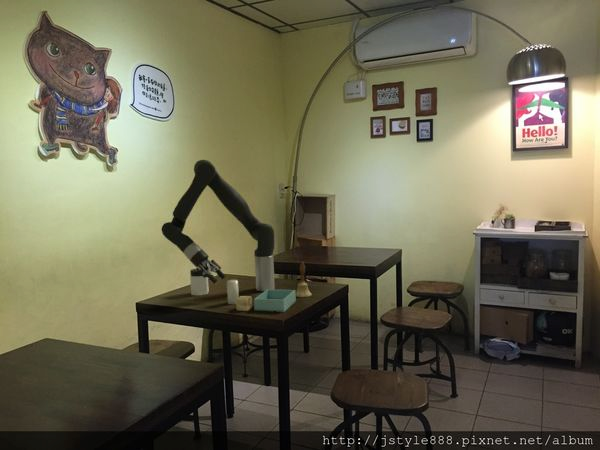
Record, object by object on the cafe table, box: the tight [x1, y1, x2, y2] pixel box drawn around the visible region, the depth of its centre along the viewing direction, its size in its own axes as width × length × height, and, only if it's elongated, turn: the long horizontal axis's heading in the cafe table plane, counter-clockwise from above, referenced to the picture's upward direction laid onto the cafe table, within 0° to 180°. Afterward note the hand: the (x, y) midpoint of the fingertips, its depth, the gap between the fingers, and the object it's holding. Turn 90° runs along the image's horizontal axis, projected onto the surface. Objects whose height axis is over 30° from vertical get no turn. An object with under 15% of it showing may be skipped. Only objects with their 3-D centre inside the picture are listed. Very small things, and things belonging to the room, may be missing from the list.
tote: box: [253, 289, 297, 313], centre depth 206 cm, size 17×13×5 cm
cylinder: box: [226, 279, 240, 305], centre depth 214 cm, size 5×5×10 cm
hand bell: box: [295, 261, 313, 298], centre depth 222 cm, size 8×8×16 cm
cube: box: [235, 295, 253, 312], centre depth 203 cm, size 5×5×5 cm
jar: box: [189, 268, 210, 296], centre depth 234 cm, size 9×8×12 cm
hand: (220, 279), depth 215 cm, fingers open, 8 cm apart
